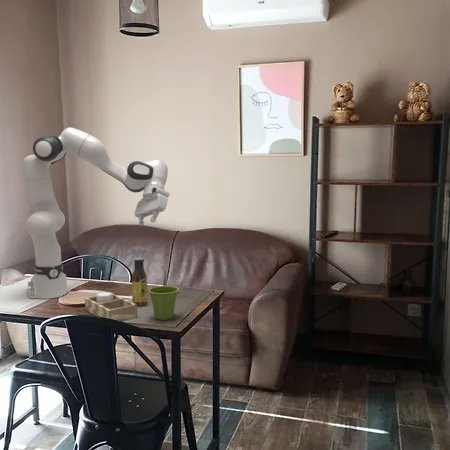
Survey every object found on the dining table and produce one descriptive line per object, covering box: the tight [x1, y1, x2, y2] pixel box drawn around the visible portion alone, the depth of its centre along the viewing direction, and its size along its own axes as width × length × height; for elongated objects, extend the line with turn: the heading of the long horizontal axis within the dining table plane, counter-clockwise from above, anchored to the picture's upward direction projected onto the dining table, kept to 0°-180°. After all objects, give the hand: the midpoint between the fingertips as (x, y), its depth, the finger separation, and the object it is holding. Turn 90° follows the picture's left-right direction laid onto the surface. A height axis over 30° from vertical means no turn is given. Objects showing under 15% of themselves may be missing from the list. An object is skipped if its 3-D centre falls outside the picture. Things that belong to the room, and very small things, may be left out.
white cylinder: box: [95, 291, 114, 303], centre depth 206 cm, size 7×7×7 cm
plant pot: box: [147, 285, 180, 321], centre depth 197 cm, size 12×12×11 cm
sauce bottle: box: [131, 257, 148, 307], centre depth 213 cm, size 6×6×20 cm
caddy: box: [84, 293, 138, 322], centre depth 202 cm, size 22×12×5 cm, turn 39°
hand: (146, 223), depth 219 cm, fingers open, 8 cm apart
